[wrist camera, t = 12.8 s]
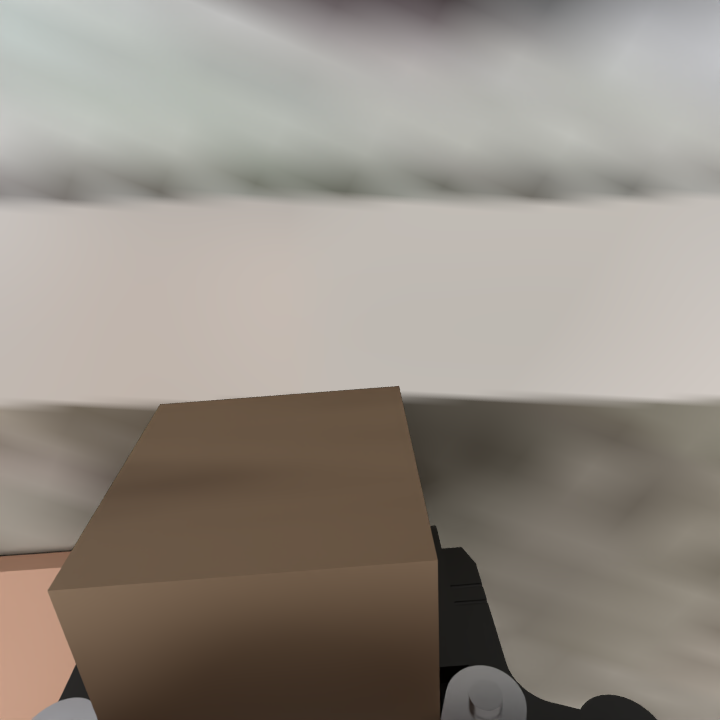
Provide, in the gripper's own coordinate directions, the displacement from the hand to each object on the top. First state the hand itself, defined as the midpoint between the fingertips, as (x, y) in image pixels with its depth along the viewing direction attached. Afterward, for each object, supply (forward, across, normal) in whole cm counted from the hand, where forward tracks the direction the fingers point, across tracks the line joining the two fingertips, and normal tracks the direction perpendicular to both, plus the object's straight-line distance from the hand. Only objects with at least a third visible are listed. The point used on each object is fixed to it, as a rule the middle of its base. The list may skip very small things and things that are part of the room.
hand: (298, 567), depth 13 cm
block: (+1, 0, -1) cm, 1 cm away
